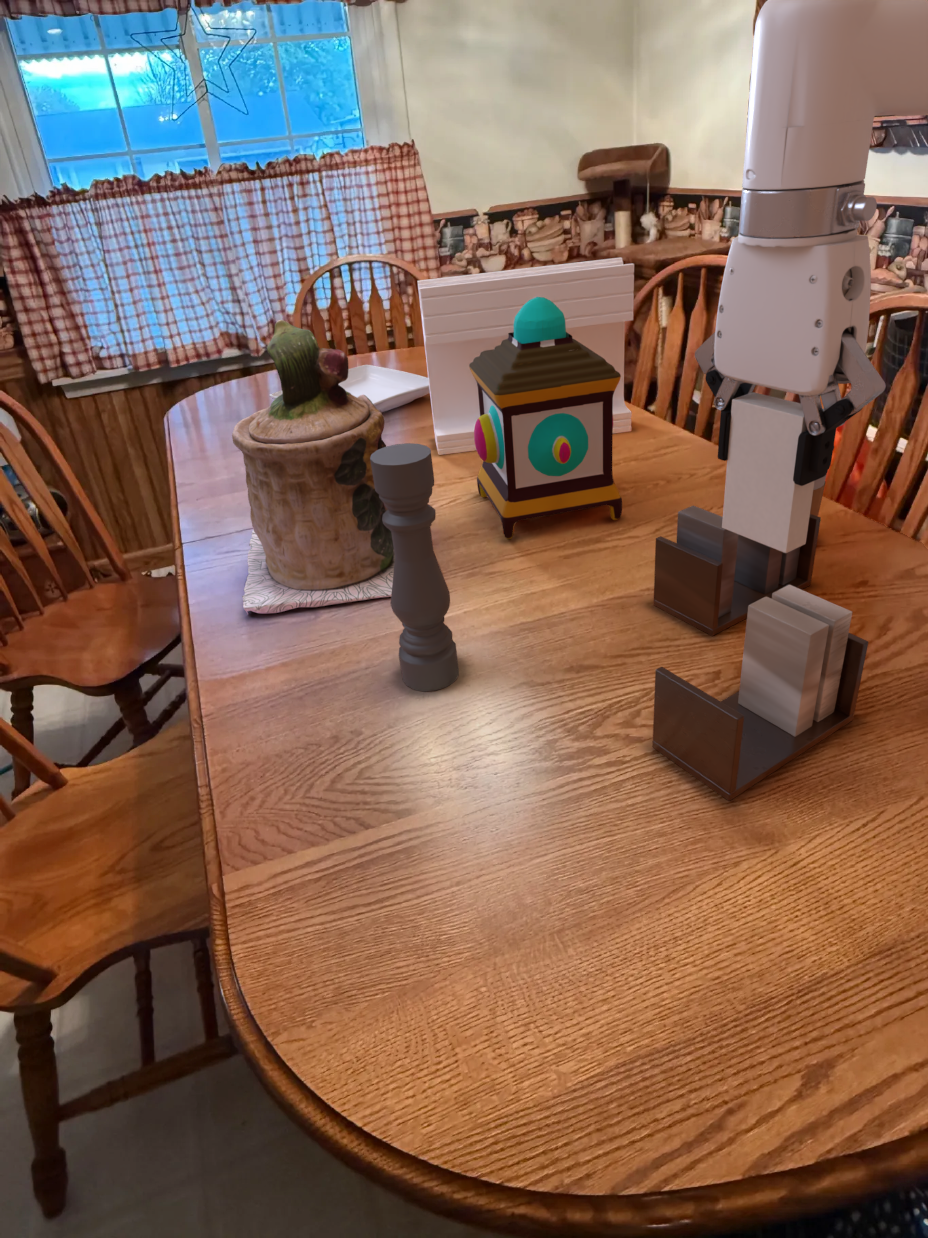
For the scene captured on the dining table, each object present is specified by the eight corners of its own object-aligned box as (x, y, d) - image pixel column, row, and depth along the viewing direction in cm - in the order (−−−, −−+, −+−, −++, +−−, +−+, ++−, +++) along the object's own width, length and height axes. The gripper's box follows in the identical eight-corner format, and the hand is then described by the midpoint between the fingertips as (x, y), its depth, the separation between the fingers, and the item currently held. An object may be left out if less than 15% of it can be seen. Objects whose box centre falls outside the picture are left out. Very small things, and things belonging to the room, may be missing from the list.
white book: (741, 519, 70) (752, 391, 64) (805, 544, 65) (825, 408, 60) (721, 527, 69) (731, 398, 63) (785, 553, 64) (803, 416, 59)
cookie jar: (241, 623, 102) (169, 362, 85) (253, 539, 123) (197, 316, 106) (437, 592, 104) (404, 331, 87) (416, 515, 125) (387, 292, 108)
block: (619, 417, 154) (620, 257, 140) (631, 431, 148) (634, 264, 133) (435, 440, 153) (417, 280, 138) (438, 454, 146) (420, 288, 131)
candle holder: (453, 692, 85) (426, 465, 72) (396, 690, 87) (359, 467, 74) (463, 658, 91) (439, 441, 78) (409, 657, 92) (377, 443, 79)
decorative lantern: (497, 547, 113) (480, 321, 97) (467, 494, 130) (448, 294, 114) (635, 523, 116) (640, 299, 100) (588, 474, 132) (586, 275, 117)
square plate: (270, 410, 179) (266, 392, 177) (369, 378, 194) (366, 362, 192) (341, 433, 161) (338, 413, 159) (444, 396, 176) (443, 378, 174)
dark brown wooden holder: (749, 559, 104) (758, 471, 98) (810, 584, 97) (824, 492, 91) (653, 605, 97) (656, 513, 90) (712, 636, 90) (720, 539, 84)
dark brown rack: (773, 677, 83) (786, 574, 77) (853, 720, 76) (875, 612, 70) (651, 747, 76) (656, 640, 69) (729, 801, 69) (741, 689, 63)
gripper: (959, 210, 50) (903, 484, 59) (734, 204, 63) (718, 430, 72) (883, 229, 47) (837, 515, 56) (663, 218, 60) (655, 453, 69)
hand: (770, 465), depth 64 cm, fingers closed on white book, 6 cm apart
